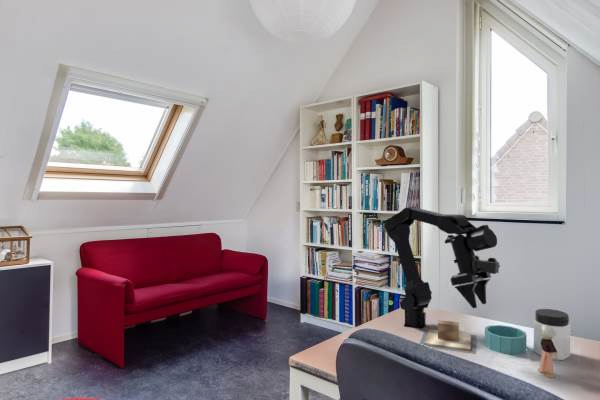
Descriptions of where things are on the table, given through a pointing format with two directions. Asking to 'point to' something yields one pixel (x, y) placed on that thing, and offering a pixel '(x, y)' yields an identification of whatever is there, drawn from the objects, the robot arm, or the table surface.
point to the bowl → (505, 339)
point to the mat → (472, 349)
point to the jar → (560, 326)
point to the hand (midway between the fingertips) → (479, 305)
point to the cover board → (448, 343)
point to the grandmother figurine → (547, 351)
